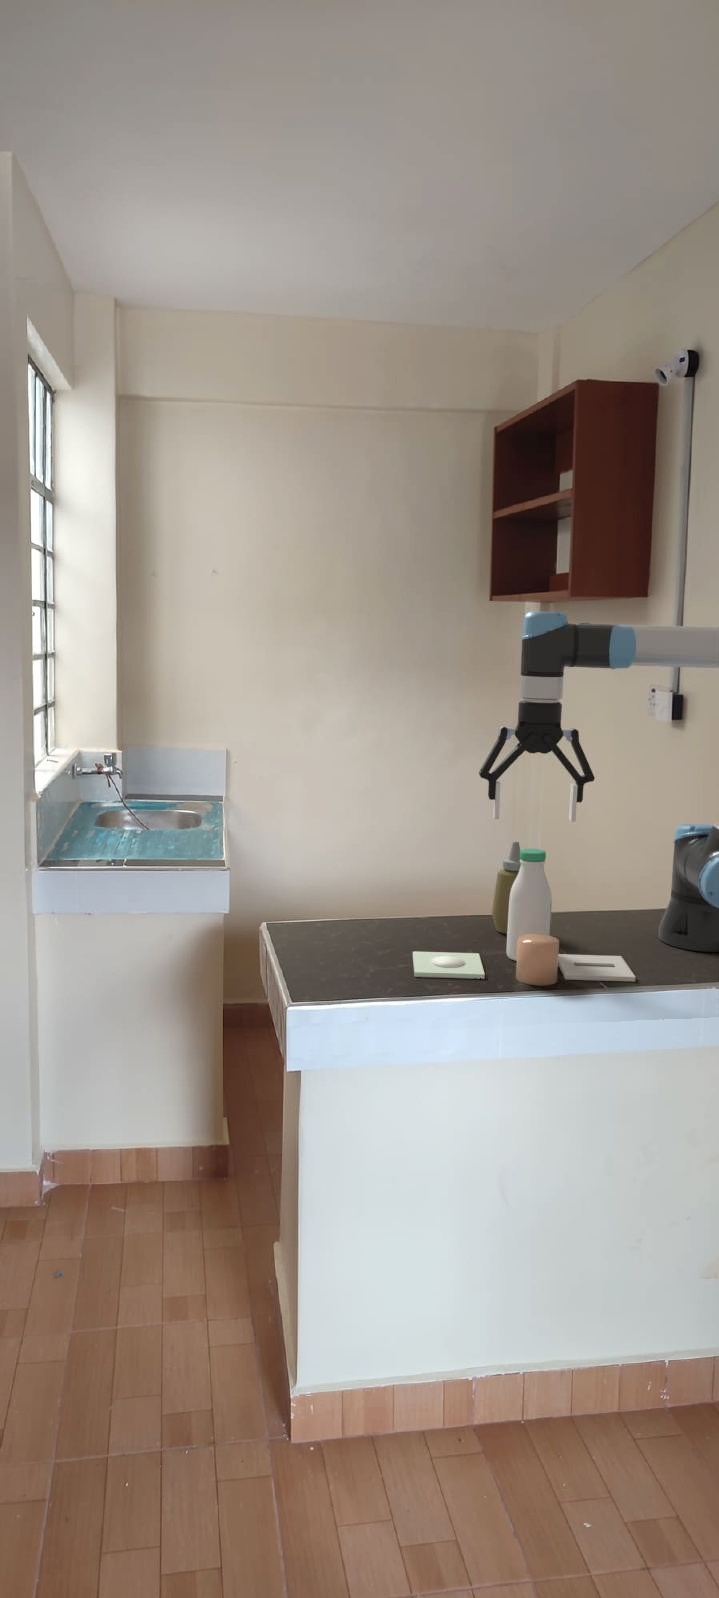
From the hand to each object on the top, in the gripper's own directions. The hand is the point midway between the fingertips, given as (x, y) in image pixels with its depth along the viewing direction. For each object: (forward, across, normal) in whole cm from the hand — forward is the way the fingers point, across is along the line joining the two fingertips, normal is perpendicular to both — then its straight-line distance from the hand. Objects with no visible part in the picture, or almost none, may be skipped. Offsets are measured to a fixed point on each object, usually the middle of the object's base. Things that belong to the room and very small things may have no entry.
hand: (533, 819), depth 203 cm
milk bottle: (+26, 0, 0) cm, 26 cm away
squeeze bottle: (+26, +1, -17) cm, 31 cm away
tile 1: (+26, +15, +7) cm, 30 cm away
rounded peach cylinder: (+26, 0, +12) cm, 28 cm away
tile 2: (+26, -11, +6) cm, 29 cm away
